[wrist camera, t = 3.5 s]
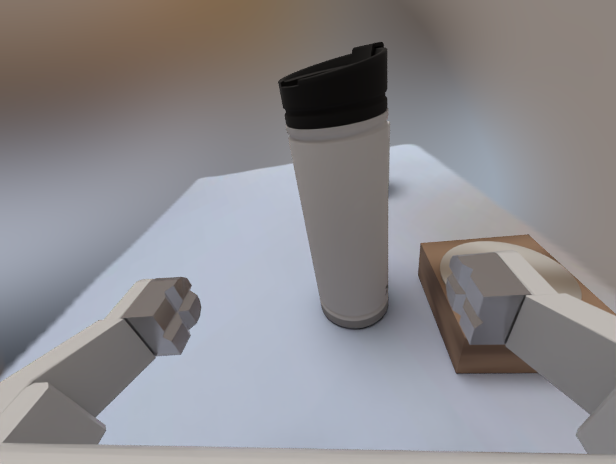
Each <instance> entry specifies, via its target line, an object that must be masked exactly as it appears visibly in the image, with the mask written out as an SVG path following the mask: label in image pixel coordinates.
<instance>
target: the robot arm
mask: <svg viewBox="0 0 616 464" xmlns="http://www.w3.org/2000/svg"><path fill="white" fill-rule="evenodd" d="M449 267H450V269H451V271H452V272H453V273H452V274H451V275H450V276H449V277H448V278H447V282H446V291H447V297H448V300H449V303H450V306H451V308H452V310H453V311H455V312H456V313H458V314H459V315H461V317H460V322H459V324H460V326H461V328H462V330H463V332H464V334H465V336H466V338H467V340H468V342H469V344H470V345H506V347H507V348H508V349H509V350H511V351H512V352H513V353H514V354H516V355H517V356H518V357H519V358H521V359H522V360H523V361H524V362H526V363H527V364H528V365H529V366H530V367H532V368H533V369H534V370H535V371H537V372H538V373H539V374H540V375H542V376H543V377H544V378H545V379H547V380H548V381H549V382H550V383H552V384H553V385H554V386H555V387H556V388H558V389H559V390H560V391H561V392H563V393H564V394H565V395H566V396H568V397H569V398H570V399H571V400H573V401H574V402H575V403H576V404H578V405H579V406H580V407H581V408H582V409H584V410H585V411H586V412H587V413H589V414H590V416H589V417H588V418H587V420H586V421H585V422H584V423H583V424H582V425H581V426H580V427H579V428H578V430H577V433H576V436H577V438H578V439H579V441H580V443H581V444H582V446H583V447H584V449H585V450H586V452H587V454H565V453H513V452H462V451H410V450H359V449H306V448H254V447H201V446H148V445H98V443H99V442H100V440H101V438H102V437H103V435H104V433H105V431H106V425H105V424H103V423H102V422H101V421H99V420H98V419H96V418H95V417H96V416H97V415H98V414H99V413H100V412H101V411H103V410H104V409H105V408H106V407H107V406H108V405H109V404H110V403H111V402H112V401H113V400H114V399H115V398H116V397H117V396H118V395H119V394H120V393H121V392H122V391H123V390H124V389H125V388H126V387H127V386H128V385H129V384H130V383H131V382H132V381H133V380H134V379H135V378H136V377H137V376H138V375H139V374H140V373H141V372H142V371H143V370H144V369H145V368H146V367H147V366H148V365H149V364H150V363H151V362H152V361H153V360H154V359H155V358H156V357H155V356H169V355H181V354H182V352H183V350H184V348H185V346H186V344H187V342H188V340H189V338H190V336H191V335H190V331H189V329H191V328H192V327H193V326H194V325H195V324H196V323H197V321H198V319H199V317H200V312H201V304H200V300H199V298H198V296H197V295H196V294H195V293H193V292H191V291H190V289H191V286H192V285H191V284H190V282H189V280H188V279H187V278H184V277H174V278H156V279H143V280H140V281H137V282H136V283H135V284H134V285H133V286H132V287H131V288H130V290H129V291H128V292H127V293H126V294H125V295H124V297H123V298H122V299H121V300H120V301H119V302H118V304H117V305H116V306H115V307H114V308H113V309H112V310H111V312H110V313H109V314H108V315H107V316H106V317H105V319H104V320H98V321H97V322H95V323H94V324H92V325H90V326H89V327H87V328H86V329H84V330H82V331H81V332H79V333H78V334H76V335H75V336H73V337H71V338H70V339H68V340H67V341H65V342H63V343H62V344H60V345H59V346H57V347H55V348H54V349H52V350H51V351H49V352H48V353H46V354H44V355H43V356H41V357H40V358H38V359H36V360H35V361H33V362H32V363H30V364H28V365H27V366H25V367H24V368H22V369H21V370H19V371H17V372H16V373H14V374H13V375H11V376H9V377H8V378H6V379H5V380H3V381H1V382H0V464H616V316H615V315H612V314H610V313H608V312H606V311H604V310H601V309H599V308H597V307H595V306H593V305H590V304H588V303H586V302H584V301H582V300H579V299H577V298H575V297H573V296H571V295H568V294H566V293H562V294H558V293H557V292H556V291H555V290H554V289H553V287H552V286H551V285H550V284H549V283H548V282H547V281H546V280H545V279H544V278H543V277H542V276H541V275H540V274H539V273H538V272H537V271H536V270H535V269H534V268H533V267H532V266H531V265H530V264H529V263H528V262H527V261H526V260H525V259H524V258H523V257H522V256H521V255H520V254H519V253H518V252H517V251H514V250H504V251H494V252H487V253H475V254H463V255H453V256H452V258H451V259H450V264H449Z"/></svg>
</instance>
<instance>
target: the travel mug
mask: <svg viewBox="0 0 616 464" xmlns="http://www.w3.org/2000/svg"><path fill="white" fill-rule="evenodd" d="M278 83H279V88H280V94H281V99H282V104H283V108H284V109H285V110H286V113H285V120H286V130H287V133H288V134H289V135H290V136H289V138H288V139H289V145H290V150H291V155H292V159H293V165H294V170H295V175H296V180H297V185H298V190H299V195H300V200H301V205H302V210H303V215H304V220H305V225H306V230H307V235H308V241H309V246H310V251H311V256H312V261H313V266H314V271H315V276H316V281H317V286H318V291H319V296H320V301H321V306H322V310H323V312H324V314H325V315H326V316H327V318H328V319H330V320H331V321H332V322H334V323H335V324H337V325H340V326H343V327H346V328H363V327H367V326H370V325H372V324H374V323H375V322H377V321H379V320H380V319H381V318H382V317H383V315H384V314H385V312H386V310H387V307H388V122H387V121H386V120H387V118H388V108H387V97H386V96H385V92H386V90H387V49H386V48H384V44H383V42H379V43H373V44H369V45H364V46H359V47H355V48H353V50H352V54H348V55H345V56H341V57H338V58H335V59H331V60H328V61H325V62H322V63H319V64H316V65H313V66H310V67H307V68H305V69H302V70H300V71H297V72H294V73H292V74H290V75H288V76H286V77H284V78H282V79H280V80H279V82H278Z"/></svg>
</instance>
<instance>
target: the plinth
mask: <svg viewBox="0 0 616 464" xmlns="http://www.w3.org/2000/svg"><path fill="white" fill-rule="evenodd" d="M504 250H514V251H517V252H518V253H519V254H520V255H521V256H522V257H523V258H524V259H525V260H526V261H527V262H528V263H529V264H530V265H531V266H532V267H533V268H534V269H535V270H536V271H537V272H538V273H539V274H540V275H541V276H542V277H543V278H544V279H545V280H546V281H547V282H548V283H549V284H550V285H551V286H552V287H553V289H554V290H555V291H556V292H557V293H558V294H562V293H566V294H568V295H571V296H573V297H575V298H577V299H579V300H582V301H584V302H586V303H588V304H590V305H593V306H595V307H597V308H599V309H601V310H604V311H606V312H608V313H610V314H612V315H615V316H616V314H615V313H614V312H613V311H612V310H611V309H610V308H608V307H607V306H606V305H605V304H604V303H603V302H602V301H601V300H600V299H599V298H597V297H596V296H595V295H594V294H593V293H592V292H591V291H590V290H589V289H588V288H586V287H585V286H584V285H583V284H582V283H581V282H580V281H579V280H578V279H577V278H575V277H574V276H573V275H572V274H571V273H570V272H569V271H568V270H567V269H566V268H564V267H563V266H562V265H561V264H560V263H559V262H558V261H557V260H556V259H555V258H553V257H552V256H551V255H550V254H549V253H548V252H547V251H546V250H545V249H544V248H542V247H541V246H540V245H539V244H538V243H537V242H536V241H535V240H534V239H533V238H531V237H530V236H529V235H516V236H504V237H492V238H479V239H467V240H454V241H442V242H429V243H421V246H420V258H419V270H418V276H419V279H420V281H421V284H422V286H423V289H424V292H425V294H426V297H427V299H428V302H429V304H430V307H431V310H432V312H433V315H434V317H435V320H436V323H437V325H438V328H439V330H440V333H441V335H442V338H443V341H444V343H445V346H446V348H447V351H448V353H449V356H450V359H451V361H452V364H453V366H454V369H455V372H456V373H538V372H537V371H535V370H534V369H533V368H532V367H530V366H529V365H528V364H527V363H526V362H524V361H523V360H522V359H521V358H519V357H518V356H517V355H516V354H514V353H513V352H512V351H511V350H509V349H508V348H507V347H506V345H470V344H469V342H468V340H467V338H466V336H465V334H464V332H463V330H462V328H461V326H460V324H459V322H460V317H461V315H459V314H458V313H456V312H455V311H453V310H452V308H451V306H450V303H449V300H448V297H447V291H446V282H447V278H448V277H449V276H450V275H451V274H452V273H453V272H452V271H451V269H450V267H449V264H450V259H451V258H452V256H453V255H463V254H475V253H487V252H494V251H504Z"/></svg>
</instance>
